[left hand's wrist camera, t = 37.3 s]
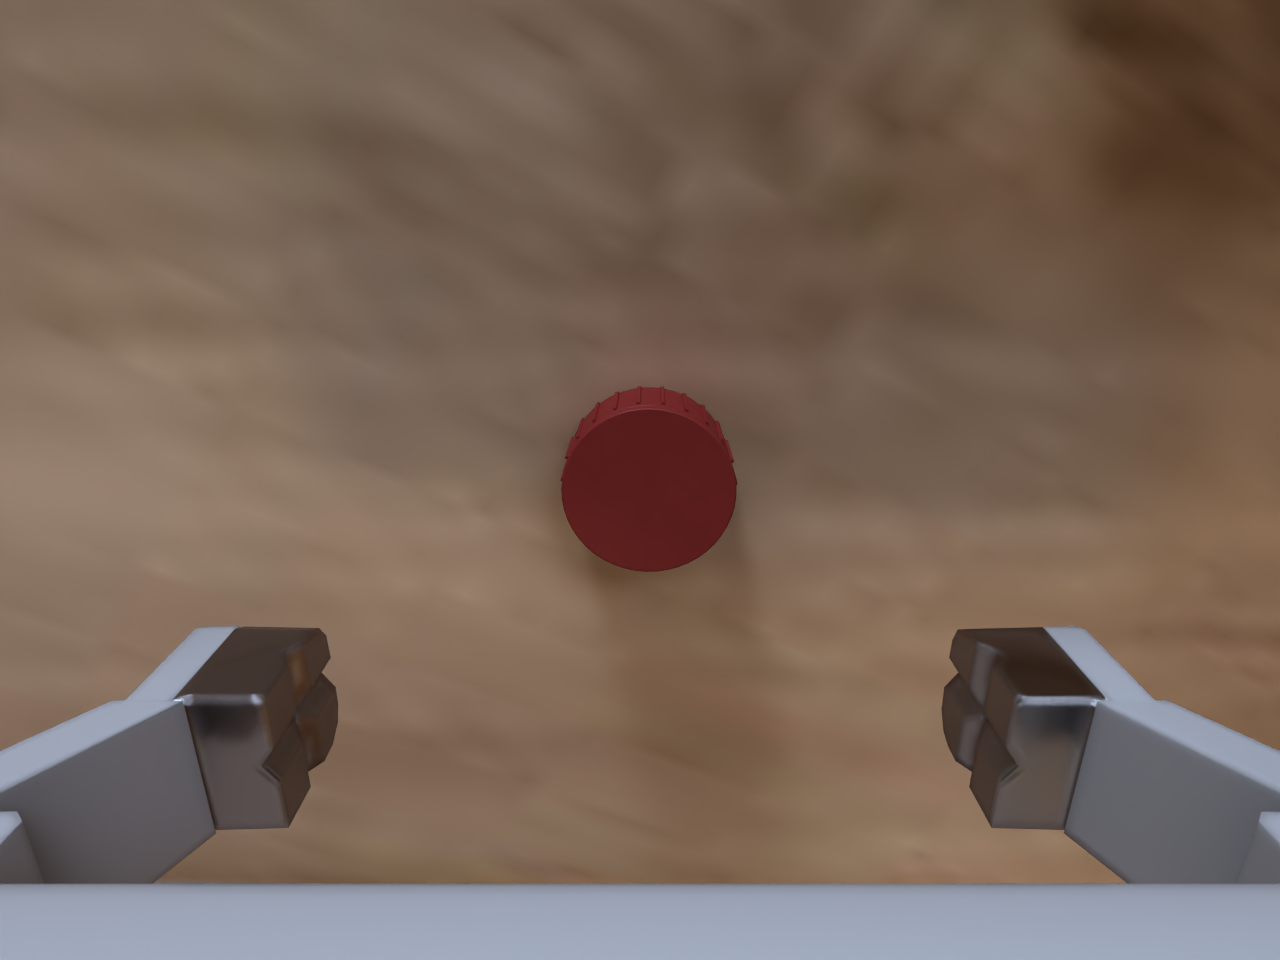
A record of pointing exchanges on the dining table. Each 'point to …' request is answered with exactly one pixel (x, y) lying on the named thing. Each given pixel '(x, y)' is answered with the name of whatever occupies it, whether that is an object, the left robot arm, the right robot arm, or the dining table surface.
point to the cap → (649, 480)
